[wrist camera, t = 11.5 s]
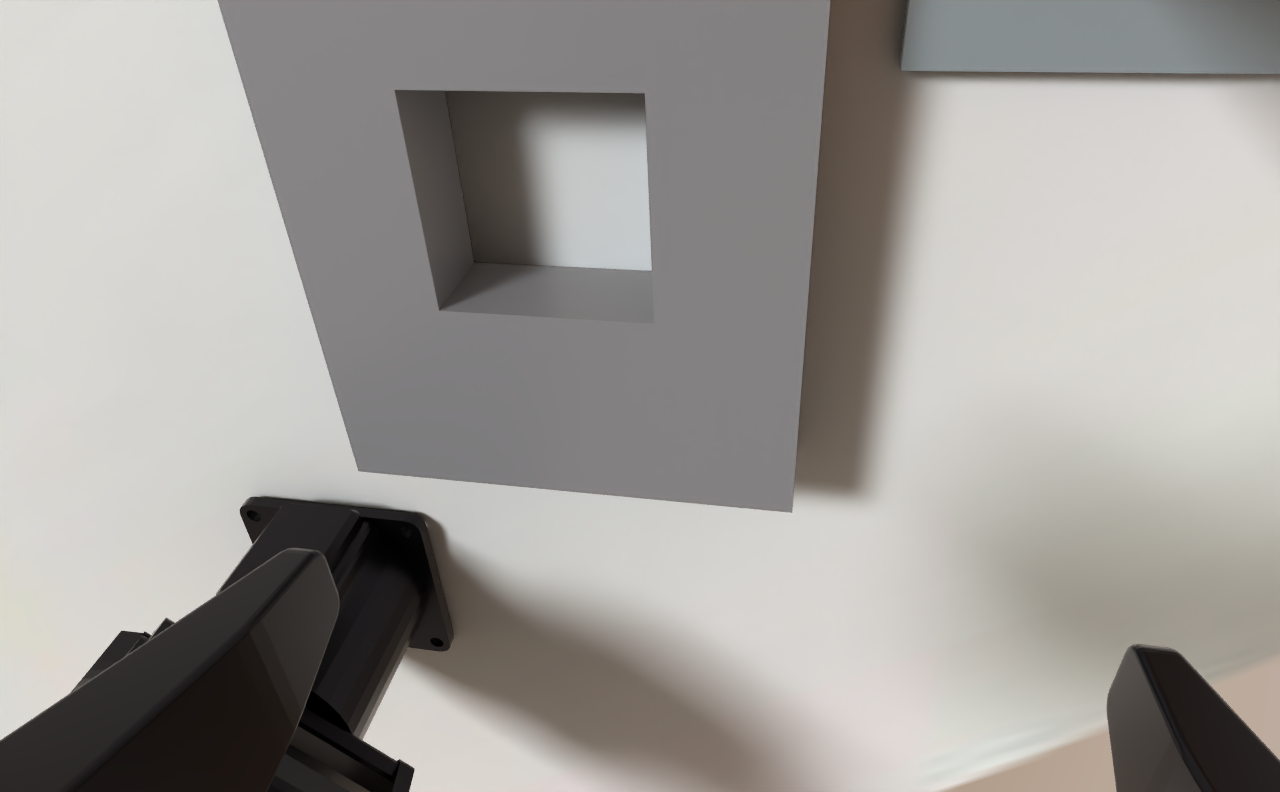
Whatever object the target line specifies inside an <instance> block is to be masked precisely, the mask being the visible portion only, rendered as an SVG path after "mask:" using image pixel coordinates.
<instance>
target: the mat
mask: <svg viewBox="0 0 1280 792" xmlns="http://www.w3.org/2000/svg"><path fill="white" fill-rule="evenodd" d="M900 69H901V71H976V72H1091V73H1206V74H1280V0H907V8H906V16H905V24H904V32H903V40H902V48H901V57H900Z"/></svg>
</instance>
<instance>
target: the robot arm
mask: <svg viewBox="0 0 1280 792" xmlns="http://www.w3.org/2000/svg"><path fill="white" fill-rule="evenodd" d="M240 515H241V517H242V519H243V522H244V524H245V527H246V529H247V532H248V534H249V536H250V539H251V541H252V544H253V545H252V546H251V548H250V549H249V550H248V552H247V553H246V554H245V556H244V557H243V558H242V560H241V561H240V562H239V564H238V565H237V566H236V568H235V569H234V570H233V572H232V573H231V574H230V576H229V577H228V578H227V580H226V581H225V582H224V584H223V585H222V586H221V588H220V589H219V591H218V592H217V594H216V596H215V597H213V598H212V599H210V600H209V601H207V602H206V603H204V604H203V605H201V606H200V607H198V608H197V609H195V610H194V611H192V612H191V613H189V614H188V615H186V616H185V617H183V618H182V619H180V620H179V621H177V622H176V623H174V622H173V621H171V620H169V619H168V618H166V619H165V620H164V621H163V622H162V623H161V624H160V626H159V627H158V628H157V629H156V630H155V631H154V633H153V634H152V635H150V634H148V633H147V632H144V633H137V632H128V631H121V632H120V633H119V635H118V636H117V637H116V638H115V639H114V641H113V642H112V643H111V644H110V645H109V647H108V648H107V649H106V650H105V652H104V653H103V654H102V655H101V656H100V658H99V659H98V660H97V661H96V663H95V664H94V665H93V666H92V667H91V669H90V670H89V671H88V672H87V673H86V675H85V676H84V677H83V678H82V680H81V681H80V682H79V683H78V684H77V686H76V687H75V688H74V689H73V690H72V692H71V693H70V694H69V695H67V696H66V697H64V698H63V699H61V700H60V701H58V702H57V703H55V704H54V705H52V706H51V707H49V708H48V709H46V710H45V711H43V712H42V713H40V714H39V715H37V716H36V717H34V718H33V719H31V720H30V721H29V722H27V723H26V724H24V725H23V726H21V727H20V728H18V729H17V730H15V731H14V732H12V733H11V734H9V735H8V736H6V737H5V738H3V739H2V740H0V792H409V789H410V785H411V781H412V778H413V774H414V768H413V767H412V766H410V765H408V764H407V763H405V762H403V761H402V760H398V761H395V760H394V759H392V758H391V757H389V756H387V755H386V754H384V753H382V752H381V751H379V750H377V749H376V748H374V747H372V746H371V745H369V744H367V743H366V742H364V741H362V740H363V738H364V736H365V734H366V732H367V729H368V727H369V725H370V723H371V721H372V719H373V717H374V715H375V713H376V711H377V709H378V707H379V705H380V703H381V701H382V699H383V697H384V695H385V693H386V691H387V689H388V687H389V685H390V682H391V680H392V678H393V676H394V674H395V672H396V670H397V668H398V666H399V664H400V662H401V660H402V658H403V656H404V654H405V652H406V650H407V648H408V647H411V648H418V649H426V650H434V651H446V650H448V649H449V648H450V646H451V643H452V641H453V639H454V634H453V630H452V626H451V622H450V618H449V615H448V611H447V607H446V603H445V599H444V595H443V591H442V587H441V583H440V579H439V575H438V571H437V567H436V563H435V559H434V555H433V551H432V547H431V543H430V540H429V536H428V532H427V528H426V524H425V522H424V521H423V520H422V519H421V518H420V517H419V516H417V515H415V514H412V513H408V512H398V511H388V510H379V509H369V508H359V507H349V506H340V505H330V504H320V503H311V502H301V501H291V500H282V499H272V498H262V497H250V498H249V499H247V500H246V502H245V503H244V504H243V505H242V507H241V508H240ZM408 527H409V528H408ZM1107 718H1108V726H1109V734H1110V742H1111V750H1112V758H1113V766H1114V774H1115V782H1116V790H1117V792H1280V760H1279V759H1278V758H1277V757H1276V756H1275V755H1274V754H1273V753H1272V752H1271V750H1270V749H1269V748H1268V747H1267V746H1266V745H1265V744H1264V743H1263V742H1262V741H1261V740H1260V739H1259V737H1258V736H1256V734H1255V733H1254V732H1253V731H1252V730H1251V729H1250V728H1249V727H1248V726H1247V725H1246V723H1245V722H1244V721H1243V720H1242V719H1241V718H1240V717H1239V716H1238V715H1237V714H1236V713H1235V712H1234V711H1233V709H1231V707H1230V706H1229V705H1228V704H1227V703H1226V702H1225V701H1224V700H1223V699H1222V698H1221V697H1220V695H1219V694H1218V693H1217V692H1216V691H1215V690H1214V689H1213V688H1212V687H1211V686H1210V685H1209V684H1208V683H1207V681H1206V680H1205V679H1204V678H1203V677H1202V676H1201V675H1200V674H1199V673H1198V672H1197V671H1196V670H1195V669H1194V667H1193V666H1192V665H1191V664H1190V663H1189V662H1188V661H1187V660H1186V659H1185V658H1184V657H1183V656H1182V655H1181V654H1180V653H1179V652H1177V651H1176V650H1174V649H1171V648H1167V647H1159V646H1150V645H1142V644H1135V645H1132V646H1130V647H1129V648H1128V649H1127V651H1126V653H1125V655H1124V657H1123V659H1122V662H1121V664H1120V666H1119V669H1118V671H1117V674H1116V676H1115V678H1114V681H1113V683H1112V685H1111V688H1110V690H1109V693H1108V698H1107Z"/></svg>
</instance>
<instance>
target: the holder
mask: <svg viewBox="0 0 1280 792" xmlns="http://www.w3.org/2000/svg"><path fill="white" fill-rule="evenodd" d="M830 1H831V0H218V3H219V6H220V10H221V13H222V16H223V20H224V23H225V26H226V30H227V33H228V36H229V40H230V43H231V46H232V50H233V53H234V56H235V60H236V63H237V66H238V70H239V73H240V76H241V80H242V83H243V86H244V90H245V93H246V96H247V100H248V103H249V106H250V110H251V113H252V117H253V120H254V123H255V127H256V130H257V133H258V137H259V140H260V143H261V147H262V150H263V153H264V157H265V160H266V163H267V167H268V170H269V173H270V177H271V180H272V183H273V187H274V190H275V193H276V197H277V200H278V203H279V207H280V210H281V213H282V217H283V220H284V223H285V227H286V230H287V233H288V237H289V240H290V244H291V247H292V250H293V254H294V257H295V260H296V264H297V267H298V270H299V274H300V277H301V280H302V284H303V287H304V290H305V294H306V297H307V300H308V304H309V307H310V310H311V314H312V317H313V320H314V324H315V327H316V330H317V334H318V337H319V340H320V344H321V347H322V350H323V354H324V357H325V360H326V364H327V367H328V370H329V374H330V377H331V381H332V384H333V387H334V391H335V394H336V397H337V401H338V404H339V407H340V411H341V414H342V417H343V421H344V424H345V427H346V431H347V434H348V437H349V441H350V444H351V447H352V451H353V454H354V457H355V461H356V464H357V467H358V471H362V472H373V473H383V474H394V475H404V476H415V477H425V478H435V479H446V480H456V481H467V482H477V483H488V484H498V485H509V486H519V487H530V488H540V489H551V490H561V491H572V492H582V493H592V494H603V495H613V496H624V497H634V498H645V499H655V500H666V501H676V502H687V503H697V504H708V505H718V506H729V507H739V508H749V509H760V510H770V511H781V512H791V513H792V507H793V494H794V481H795V467H796V454H797V441H798V427H799V414H800V401H801V387H802V374H803V361H804V347H805V334H806V321H807V307H808V294H809V281H810V267H811V254H812V241H813V227H814V214H815V201H816V188H817V174H818V161H819V148H820V134H821V121H822V108H823V94H824V81H825V68H826V54H827V41H828V28H829V14H830ZM445 91H517V92H590V93H645V112H646V136H647V161H648V186H649V210H650V235H651V259H652V271H637V270H617V269H597V268H577V267H556V266H536V265H516V264H496V263H476V262H474V258H473V253H472V247H471V241H470V235H469V229H468V223H467V217H466V211H465V205H464V200H463V194H462V188H461V182H460V176H459V170H458V164H457V158H456V152H455V147H454V141H453V135H452V129H451V123H450V117H449V111H448V105H447V99H446V94H445Z"/></svg>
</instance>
